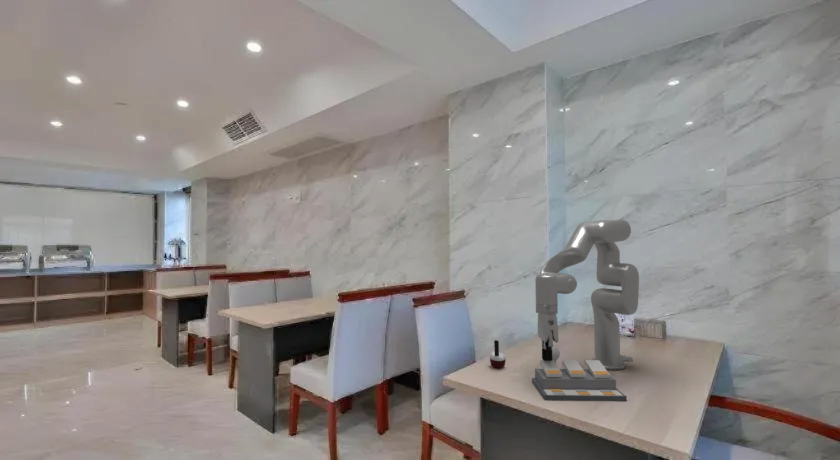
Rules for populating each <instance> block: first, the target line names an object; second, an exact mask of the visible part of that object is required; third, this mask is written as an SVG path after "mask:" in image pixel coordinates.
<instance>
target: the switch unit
mask: <svg viewBox="0 0 840 460" xmlns="http://www.w3.org/2000/svg"><path fill="white" fill-rule="evenodd" d="M582 369H583V371H584V372H585V373H586V377H570V375H569V374H568V372H567V370H566V369H565V368H559V370H560V371H561V373H562V377H547V376H546V374H545V372H544V370H543V369H542V368H534V377H531V382H532V384H533V385H534V387H535V388H536V390H537V391H538V393H539V394H540V395H541V397H542V398H543V400H544V401H582V402H584V401H585V402H586V401H587V402H589V401H596V402H600V401H601V402H627V395H625V394H624V393H623V392H622V391H621V390H619V389H618V388H617V381H616V379H615V378H614V377H613V376H611V375H610V378H594V376H593V375H592V373H591V372H590V370H589V369H588V368H582Z"/></svg>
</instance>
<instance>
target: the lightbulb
mask: <svg viewBox="0 0 840 460" xmlns="http://www.w3.org/2000/svg"><path fill="white" fill-rule="evenodd" d="M559 358H560V349H559V348H558V347H557V346H556V345H554V344H553V347H552V360H554V361H555V363H556V364H557V361H558V359H559Z"/></svg>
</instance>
